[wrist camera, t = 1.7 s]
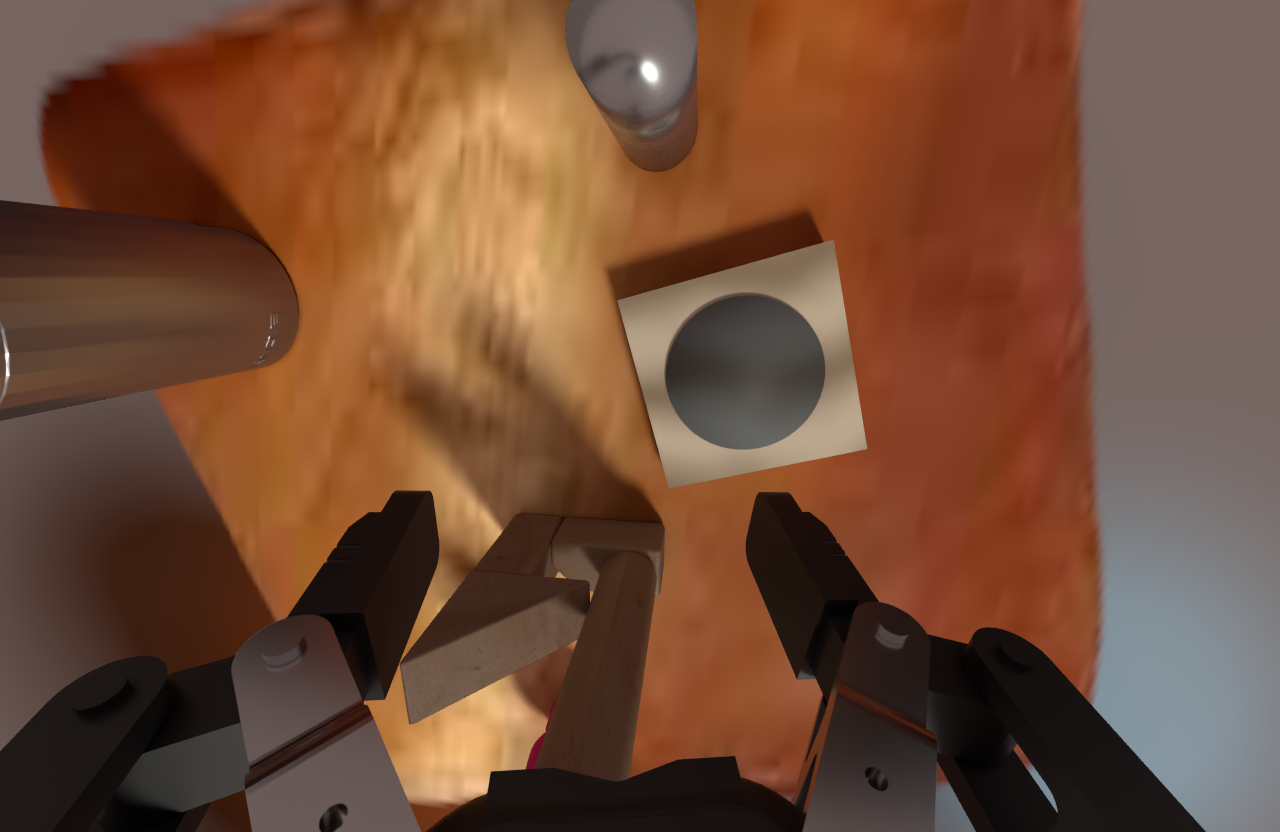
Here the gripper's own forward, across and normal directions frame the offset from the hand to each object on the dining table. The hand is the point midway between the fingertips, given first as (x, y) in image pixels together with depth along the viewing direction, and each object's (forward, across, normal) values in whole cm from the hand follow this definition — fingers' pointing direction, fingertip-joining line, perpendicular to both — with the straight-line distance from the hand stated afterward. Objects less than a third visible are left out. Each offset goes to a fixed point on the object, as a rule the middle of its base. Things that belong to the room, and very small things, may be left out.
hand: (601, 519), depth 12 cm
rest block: (+17, +9, -2) cm, 20 cm away
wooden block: (+18, 0, -16) cm, 23 cm away
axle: (+21, +3, +10) cm, 24 cm away
